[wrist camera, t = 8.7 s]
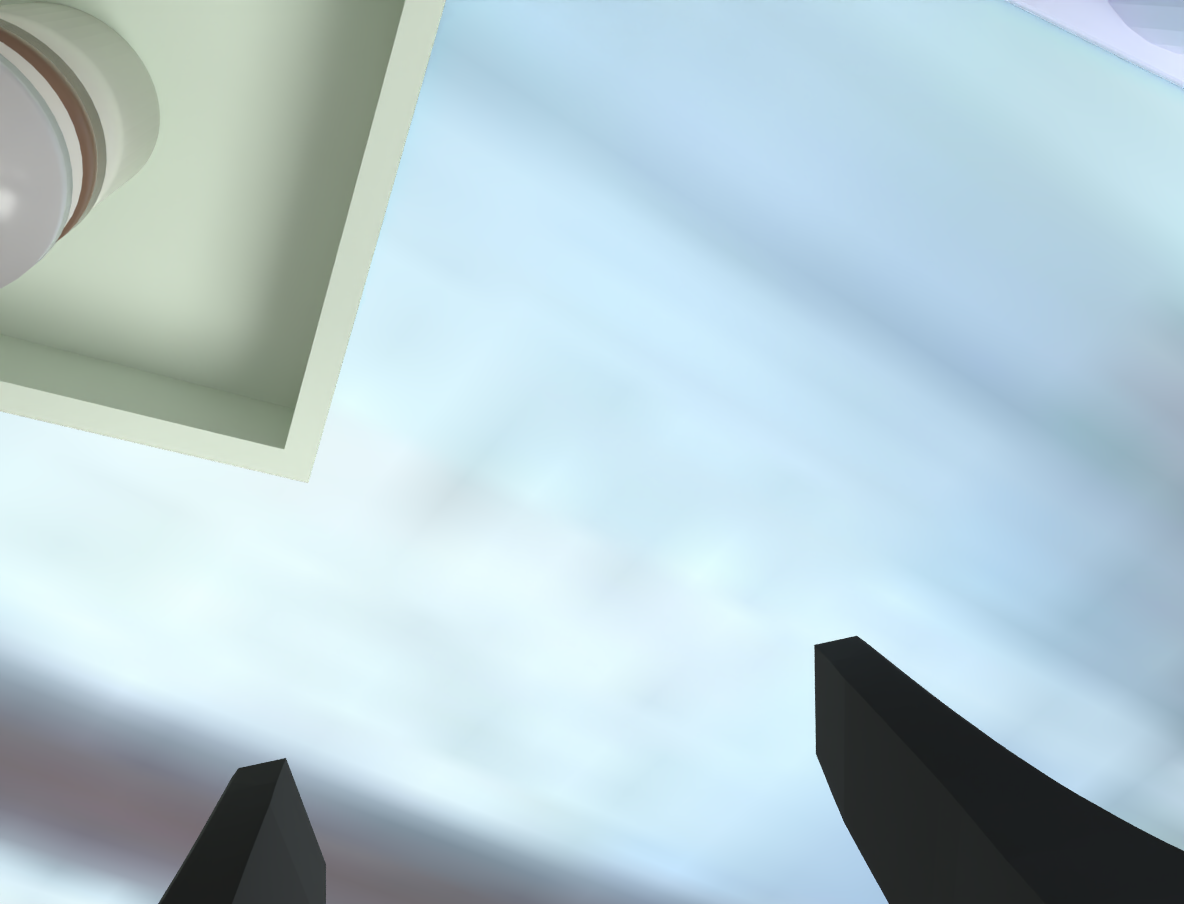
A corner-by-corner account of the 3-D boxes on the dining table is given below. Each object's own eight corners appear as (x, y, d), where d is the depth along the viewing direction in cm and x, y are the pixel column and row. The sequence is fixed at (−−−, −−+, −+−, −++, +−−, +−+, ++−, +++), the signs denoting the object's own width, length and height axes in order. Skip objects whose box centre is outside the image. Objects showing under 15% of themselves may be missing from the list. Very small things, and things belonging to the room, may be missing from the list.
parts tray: (456, -61, 17) (464, -63, 15) (318, 429, 21) (308, 482, 19) (-287, -376, 14) (-416, -439, 12) (-291, 275, 18) (-390, 320, 15)
